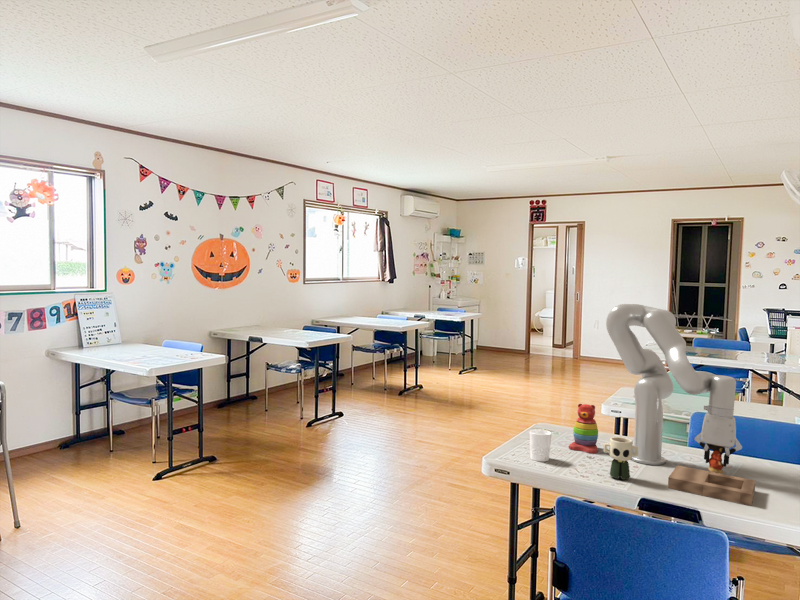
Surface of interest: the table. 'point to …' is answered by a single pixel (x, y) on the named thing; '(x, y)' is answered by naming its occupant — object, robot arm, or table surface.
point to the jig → (712, 485)
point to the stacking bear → (585, 430)
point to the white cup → (540, 445)
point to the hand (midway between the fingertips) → (716, 463)
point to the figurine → (716, 459)
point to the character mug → (620, 456)
